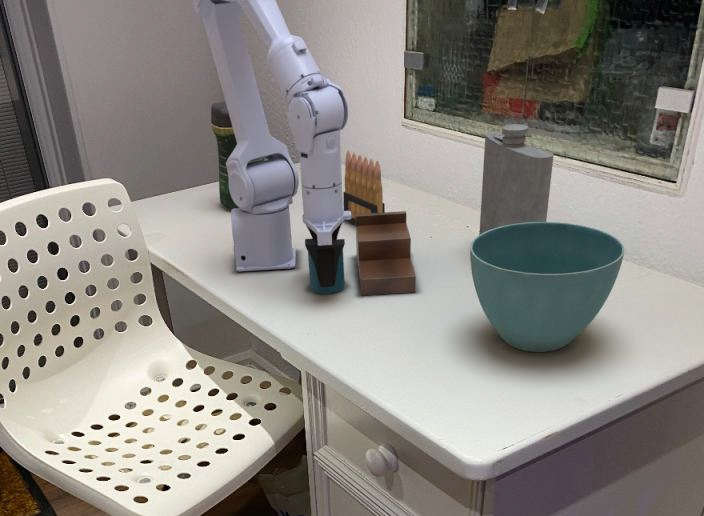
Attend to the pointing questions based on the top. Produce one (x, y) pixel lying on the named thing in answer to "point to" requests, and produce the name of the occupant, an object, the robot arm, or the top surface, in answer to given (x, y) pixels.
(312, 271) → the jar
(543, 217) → the hip flask
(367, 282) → the step shelf
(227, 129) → the coffee jar
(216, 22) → the robot arm
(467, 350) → the top surface
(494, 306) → the teal bowl
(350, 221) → the ammunition clip
